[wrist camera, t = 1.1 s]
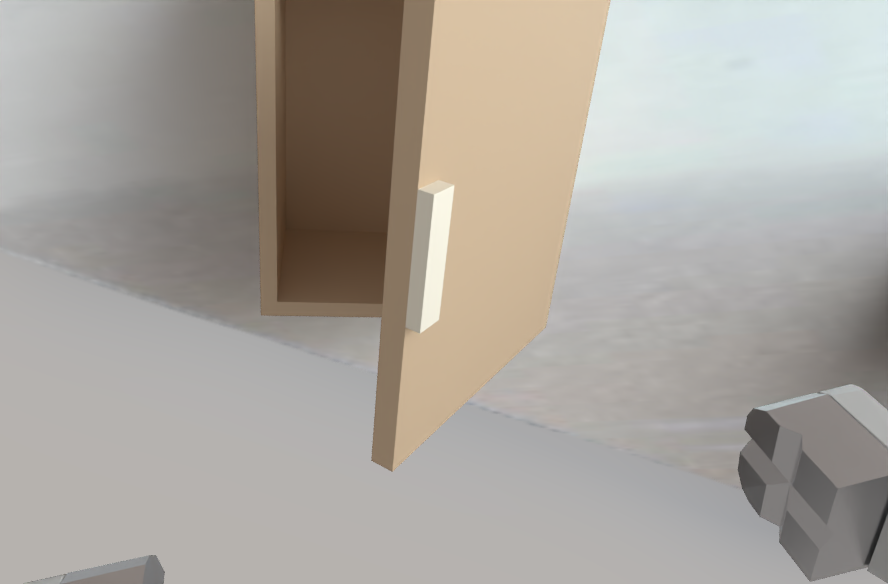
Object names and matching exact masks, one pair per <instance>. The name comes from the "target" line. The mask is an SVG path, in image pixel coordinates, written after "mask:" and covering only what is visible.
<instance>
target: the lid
mask: <svg viewBox="0 0 888 584" xmlns="http://www.w3.org/2000/svg"><path fill="white" fill-rule="evenodd" d="M609 5H610V0H404V11H403V25H402V39H401V53H400V67H399V81H398V95H397V109H396V123H395V137H394V151H393V165H392V180H391V194H390V208H389V222H388V236H387V250H386V264H385V278H384V292H383V306H382V320H381V334H380V348H379V362H378V376H377V391H376V405H375V419H374V433H373V446H372V461H373V462H375V463H377V464H379V465H381V466H383V467H385V468H387V469H388V470H390V471H392V472H393V471H394V470H395V469H396V468H397V467H398V466H399V465H400V464H401V463H402V462H403V461H404V460H405V459H406V458H408V457H409V456H410V455H411V454H412V453H413V452H414V451H415V450H416V449H417V448H418V447H419V446H420V445H421V444H422V443H423V442H424V441H426V439H428V438H429V437H430V436H431V435H432V434H433V433H434V432H435V431H436V430H437V429H438V428H439V427H440V426H441V425H442V424H444V423H445V422H446V421H447V420H448V419H449V418H450V417H451V416H452V415H453V414H454V413H455V412H456V411H457V410H458V409H459V408H461V407H462V405H464V404H465V403H466V402H467V401H468V400H469V399H470V398H471V397H472V396H473V395H474V394H475V393H476V392H477V391H479V390H480V389H481V388H482V387H483V386H484V385H485V384H486V383H487V382H488V381H489V380H490V379H491V378H492V377H493V376H494V375H495V374H497V373H498V372H499V371H500V370H501V369H502V368H503V367H504V366H505V365H506V364H507V363H508V362H509V361H510V360H511V359H512V358H514V357H515V356H516V355H517V354H518V353H519V352H520V351H521V350H522V349H523V348H524V347H525V346H526V345H527V344H528V343H529V342H530V341H532V340H533V339H534V338H535V337H536V336H537V335H538V334H539V333H540V332H541V331H542V330H543V329H544V328H545V327H546V323H547V318H548V313H549V308H550V303H551V298H552V293H553V288H554V283H555V278H556V273H557V268H558V263H559V258H560V252H561V247H562V242H563V237H564V232H565V227H566V222H567V217H568V212H569V207H570V202H571V197H572V192H573V187H574V182H575V177H576V172H577V167H578V162H579V156H580V151H581V146H582V141H583V136H584V131H585V126H586V121H587V116H588V111H589V106H590V101H591V96H592V91H593V86H594V81H595V76H596V71H597V66H598V60H599V55H600V50H601V45H602V40H603V35H604V30H605V25H606V20H607V15H608V10H609Z"/></svg>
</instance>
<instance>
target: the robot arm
mask: <svg viewBox="0 0 888 584" xmlns="http://www.w3.org/2000/svg"><path fill="white" fill-rule="evenodd" d="M745 431H746V432H747V433H748V434H749V435H750V436H751V438H752V439H751V440H750V441H749V443H748V444H747V445H746V446H745V447H744V448H743V450H742V451H741V452H740V458H739V465H738V472H739V477H740V481H741V485H742V489H743V491H744V493H745V495H746V497H747V499H748V501H749V502H750V504H751V505H752V507H753V508H754V509H755V511H756V512H757V513H758V515H759V516H760V517H762V518H764V519H766V520H768V521H770V522H772V523H774V524H776V525H778V526H780V534H779V537H780V538H779V542H780V544H781V545H782V546H783V547H784V549H785V550H786V551H787V553H788V554H789V555H790V556H791V558H792V559H793V560H794V562H795V563H796V564H797V565H798V567H799V568H800V569H801V571H802V572H803V573H804V574H805V576H806V577H807V578H808V580H809V581H815V580H819V579H823V578H827V577H830V576H835V575H839V574H843V573H846V572H850V571H854V570H858V569H862V568H866V567H868V569H867V571H869V572H870V573H872V574H873V575H875V576H877V577H878V578H880V579H882V580H883V581H885V582H887V583H888V410H887V409H886V408H885V407H883V406H882V405H881V404H880V403H879V402H878V401H877V400H875V399H874V398H873V397H872V396H871V395H870V394H869V393H867V392H866V391H865V390H864V389H862V388H861V387H858V386H855V385H853V384H850V385H846V386H841V387H837V388H833V389H829V390H825V391H821V392H818V393H811V394H808V395H804V396H800V397H796V398H792V399H788V400H784V401H780V402H776V403H772V404H768V405H764V406H761V407H757V408H753V410H752V411H751V412H750V413H749V414H748V416H747V420H746V425H745ZM164 573H165V572H164V570H163V568H162V566H161V564H160V562H159V560H158V558H157V556H156V555H149V556H144V557H140V558H136V559H130V560H126V561H121V562H116V563H112V564H107V565H103V566H98V567H94V568H89V569H84V570H80V571H75V572H71V573H67V574H64V575H59V576H55V577H50V578H45V579H41V580H37V581H32V582H28V583H24V584H163V583H164Z"/></svg>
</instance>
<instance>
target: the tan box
mask: <svg viewBox="0 0 888 584" xmlns="http://www.w3.org/2000/svg"><path fill="white" fill-rule="evenodd" d="M254 1H255V50H256V98H257V146H258V194H259V243H260V291H261V315H269V316H332V317H382V306H383V292H384V278H385V264H386V250H387V236H388V222H389V208H390V194H391V180H392V165H393V151H394V137H395V123H396V109H397V95H398V81H399V67H400V53H401V39H402V25H403V11H404V0H254Z"/></svg>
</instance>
